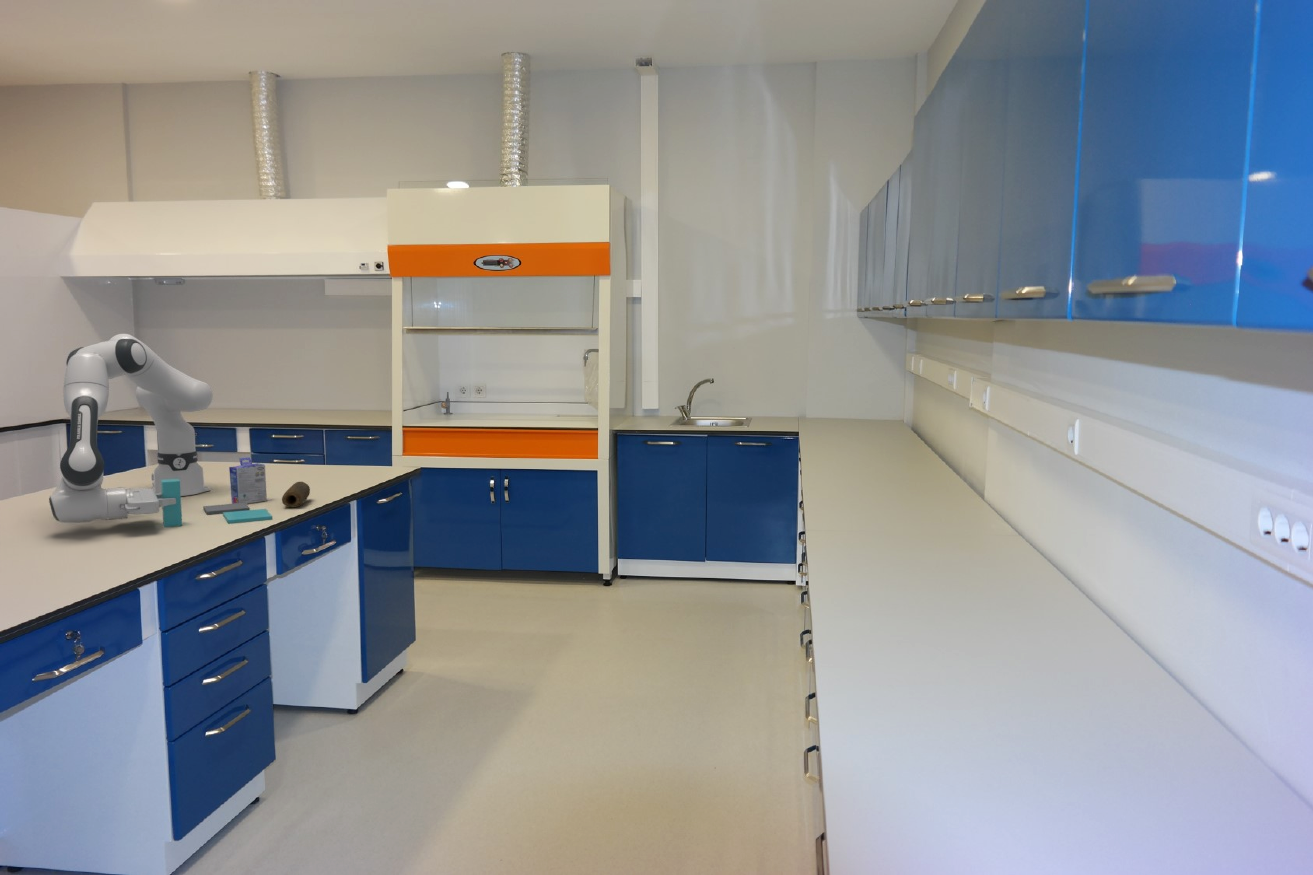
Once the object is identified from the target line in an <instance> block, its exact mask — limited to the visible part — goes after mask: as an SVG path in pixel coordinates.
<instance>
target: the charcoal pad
mask: <svg viewBox="0 0 1313 875" xmlns="http://www.w3.org/2000/svg"><path fill="white" fill-rule="evenodd" d="M246 510H251V508H250V506H248V504H246V503H235V504H233V503H225V504H213V505H203V511H204V512H205V515H207V516H208V515H221V514H222V515H223V512H235V511H246Z"/></svg>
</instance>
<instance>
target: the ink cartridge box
mask: <svg viewBox="0 0 1313 875" xmlns="http://www.w3.org/2000/svg"><path fill="white" fill-rule="evenodd" d="M238 459H239V463H240V465H235V466H229V467H228V468H229V469H228V470H229V481H230V483H229V484H230V497H231V498H230V499H231V504H235V503H246V504H247V505H249V504H253V503H254V504H255V503H260V502H261V503H262V502H266V501H268V499H267V479H266V465H265V464H263V463H258V462H257V463H256V462H254V463H253V462H252V459H251V457H240V458H238ZM243 461H244V462H243Z"/></svg>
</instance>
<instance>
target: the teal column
mask: <svg viewBox="0 0 1313 875" xmlns="http://www.w3.org/2000/svg"><path fill="white" fill-rule="evenodd" d="M161 491H162V499H166V498H173V497H174V498H175V499H176V504H173V505H167V506H163V507H161V509H162V525H163V527H164V528H169V527H178V526H180V527H181V526H183V517H182V516H183V514H182V498H181V497H182V496H181V493H180V480H179V479H166V480H161Z"/></svg>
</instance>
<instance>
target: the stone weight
mask: <svg viewBox="0 0 1313 875" xmlns="http://www.w3.org/2000/svg"><path fill="white" fill-rule="evenodd" d="M310 495H311V488H310V486H309V484H307V483H306V482H304V481H296V482H294V483H293V484H292V485H291V486H290V487H289V488H288V489H287V490H286V491H285V492H284V493H283V495H282V498H281V501H282V504H283V505H284V507H288V508H295V507H300V506H301V505H302V504H304V502H305V501H306V500H307V499H308V498H309V496H310Z"/></svg>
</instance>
